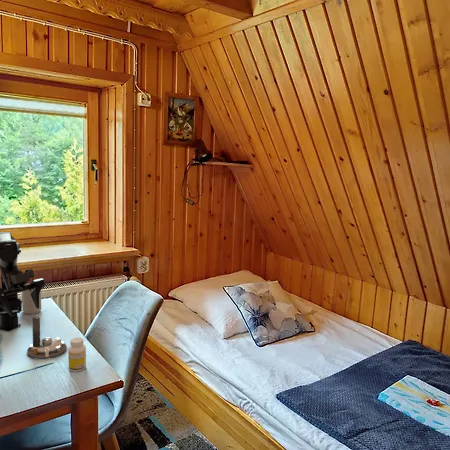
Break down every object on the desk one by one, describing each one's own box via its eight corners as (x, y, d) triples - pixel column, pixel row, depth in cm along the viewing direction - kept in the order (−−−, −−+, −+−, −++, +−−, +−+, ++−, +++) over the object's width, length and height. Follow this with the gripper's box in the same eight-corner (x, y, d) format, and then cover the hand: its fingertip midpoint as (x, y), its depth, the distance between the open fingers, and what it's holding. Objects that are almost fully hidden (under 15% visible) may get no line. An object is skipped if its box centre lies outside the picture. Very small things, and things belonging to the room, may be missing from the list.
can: (44, 312, 185) (43, 285, 183) (26, 316, 180) (26, 288, 178) (37, 307, 190) (36, 281, 188) (19, 311, 185) (18, 284, 183)
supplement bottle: (73, 363, 143) (72, 335, 141) (88, 364, 142) (88, 337, 141) (65, 371, 137) (65, 342, 136) (81, 373, 137) (81, 344, 135)
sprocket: (23, 351, 147) (22, 319, 145) (45, 339, 157) (44, 309, 155) (49, 357, 143) (48, 324, 142) (70, 344, 154) (70, 314, 152)
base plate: (18, 354, 146) (18, 344, 146) (45, 340, 158) (44, 330, 158) (49, 362, 142) (49, 351, 142) (74, 346, 154) (74, 336, 154)
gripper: (-11, 268, 141) (5, 310, 137) (43, 257, 155) (59, 296, 152) (-20, 282, 148) (-5, 323, 144) (33, 271, 162) (47, 308, 158)
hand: (25, 312), depth 149 cm, fingers open, 9 cm apart
